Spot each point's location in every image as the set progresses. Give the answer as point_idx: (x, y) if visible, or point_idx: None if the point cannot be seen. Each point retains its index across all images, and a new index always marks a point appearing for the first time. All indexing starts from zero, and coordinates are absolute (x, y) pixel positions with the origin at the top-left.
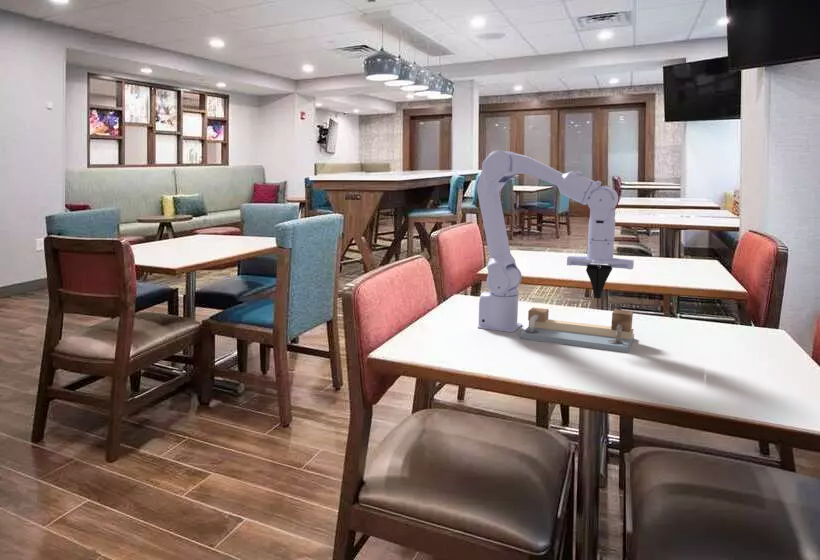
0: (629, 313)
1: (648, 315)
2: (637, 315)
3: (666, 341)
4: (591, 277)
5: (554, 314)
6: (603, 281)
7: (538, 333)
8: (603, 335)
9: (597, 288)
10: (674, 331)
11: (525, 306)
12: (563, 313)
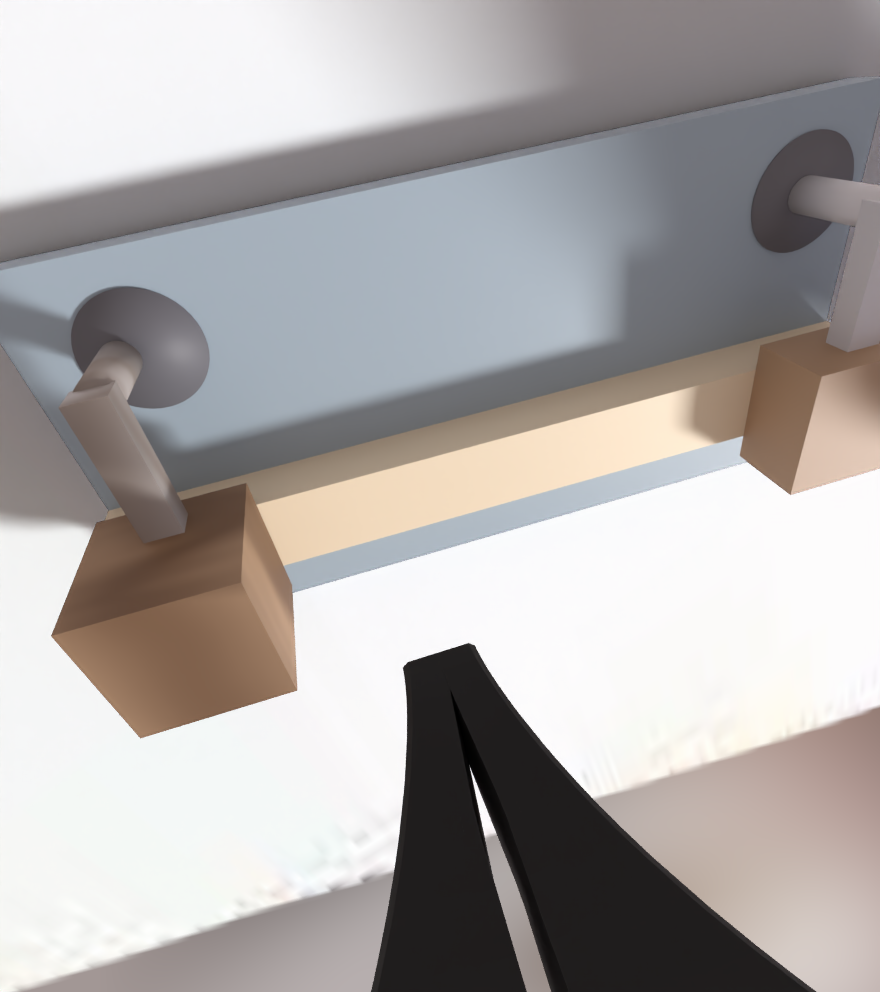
0: (104, 667)
1: (344, 882)
2: (379, 860)
3: (20, 680)
4: (649, 910)
5: (693, 675)
6: (404, 921)
7: (751, 177)
8: (313, 458)
9: (483, 779)
10: (120, 815)
11: (821, 684)
12: (658, 708)
